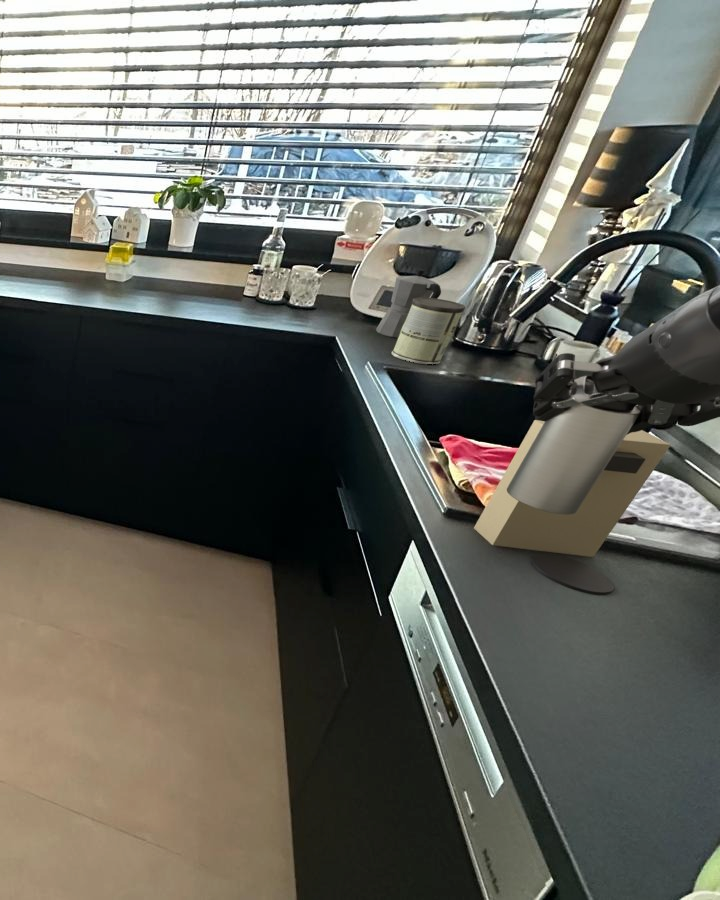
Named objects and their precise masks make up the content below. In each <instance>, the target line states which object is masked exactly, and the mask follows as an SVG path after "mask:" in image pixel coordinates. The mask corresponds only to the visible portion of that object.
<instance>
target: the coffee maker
mask: <svg viewBox="0 0 720 900" xmlns="http://www.w3.org/2000/svg"><path fill="white" fill-rule="evenodd" d="M544 423H545V421H539V420H535V419H534V420H533V422H532V424H531V425H530V427H529V429H528V431H527V433H526V434H525V436H524V438H523V439H522V441H521V443H520V445H519V447H518V449H517V450H516V452H515V454H514V456H513V457H512V459H511V461H510V463H509V464H508V467H506V470H505V471H504V473H503V476H502V477H501V478H500V480H499V482H498V483H497V486H496V488H495V490H494V491H493V493H492V495H491V496H490V497H489V500H488V501H487V504H486V506H485V507H484V509H483V511H482V512H481V514H480V516H479V518H478V520H477V521H476V523H475V525H474V527H473V529H474V530H475V531H477V533H478V534H479V535H481V536H482V537H483V539H485V540H486V541H487V542H488V543H489V544H490V545H492V546H495V547H504V548H511V549H512V548H513V549H522V550H529V551H530V550H531V551H539V553H535V554H533V555H532V557H530V564H531V566H532V567H533V568H534V569H535V570H536V571H537V572H538V573H540V574H541V575H542V576H544V577H546V578H547V579H549V580H551V581H553V582H555V583H557V584H558V585H561V586H564V587H566V588H568V589H571V590H573V591H578V592H580V593H585V594H589V595H596V596H606V595H610V594H612V593H613V592H614V590H615V584H614V582H613V581H612V580H611V579H610V578H609V577H608V576H607V575H606V574H605V573H603V572H601V571H600V570H598V569H596V568H595V567H592V566H590V565H588V564H586V563H584V562H581V561H579V560H576V559H574V558H571V557H568V556H565V555H571V556H581V557H588V558H589V557H590V558H594V557H595V555H596V554H597V553H598V551H599V550H600V548H601V547H602V545H603V544H604V542H605V541H606V539H607V538H608V537H609V535H610V534H611V533H612V531H613V529H614V528H615V527H616V525H617V523H618V522H619V521H620V519H621V518H622V516H623V515H624V514H625V512H626V511H627V509H628V508H629V507H630V505H631V503H632V502H633V501H634V499H635V498H636V496H637V495H638V493H639V492H640V491H641V489H642V487H643V486H644V485H645V483H646V482H647V480H648V479H649V477H650V476H651V474H652V473H653V471H654V470H655V468H656V467H657V466H658V465H659V463H660V462H661V460H662V458H663V457H664V456H665V454H666V453H667V451H668V450H669V448H670V447H671V445H672V444H671V443H669V442H666V441H665V440H662V439H661V438H658V437H657V436H655V435H652V434H651V433H648V432H646V431H645V430H644V429H643V430H641V431H638V432H632V433H630V434H627V435H626V436H625V438H624V439H623V441H622V442H621V444H620V445H619V447H618V449H617V450H616V452H615V453H614V455H613V456H612V458H611V459H610V461H609V462H608V464H607V466H606V467H605V469H604V470H603V472H602V473H601V475H600V476H599V478H598V479H597V481H596V483H595V484H594V486H593V487H592V489H591V490H590V492H589V493H588V495H587V496H586V498H585V500H584V501H583V503H582V504H581V506H580V507H579V509H578V510H577V512H576V513H574V514H569V515H564V514H556V513H551V512H547V511H543V510H539V509H536V508H534V507H531V506H528V505H526V504H524V503H522V502H520V501H518V500H516V499H515V498H513V497H512V496H510V495H509V494H508V492H507V487H508V485H509V484H510V482H511V480H512V478H513V477H514V475H515V473H516V472H517V470H518V468H519V466H520V465H521V463H522V461H523V459H524V458H525V456H526V454H527V452H528V451H529V449H530V447H531V445H532V444H533V442H534V440H535V438H536V437H537V435H538V433H539V431H540V430H541V428H542V426H543V424H544ZM560 554H561V555H560ZM562 554H563V555H562Z"/></svg>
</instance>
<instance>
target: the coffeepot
mask: <svg viewBox="0 0 720 900" xmlns="http://www.w3.org/2000/svg"><path fill="white" fill-rule="evenodd" d="M425 271H426V270H425V269H422V268H419V269H417V270H416V275H397V276H396V278H395V282H394V287H393V291H392V295H391V300H390V302H391V305H390V308H389V309H387V311H386V313H385V314H384V315H383V317H382V319H381V320H380V321H379V324H378V325H377V327H376V328H375V331H376V332H377V333H378V334H380V335H382V336H386V337H388V338H395V339H398V336H399V334H400V332H401V329H402V327H403V324H404V322H405V319H406V317H407V315H408V312H409V310H410V307H411V305H412V301H413V299H414V298H420V297H424V298H436V299H439V297H440V296H441V294H442V289H441V285H440V284H439V283H437V282H436V281H434V280H431V279H430V278H427V277H424V276H423V275H424V273H425Z"/></svg>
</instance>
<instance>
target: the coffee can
mask: <svg viewBox="0 0 720 900" xmlns="http://www.w3.org/2000/svg"><path fill="white" fill-rule="evenodd" d="M465 310H466V306H465V305H464V304H461V303H459V302H455V301H452V300H447V299H443V298H442V299H441V298H437V299H436V298H431V297H430V298H424V297H420V298H414V299H413V301H412V305H411V307H410V310H409V312H408V315H407V317H406V319H405V322H404V324H403V327H402V329H401V332H400V334H399V336H398V338H396V341H395V344H394V347H393V349H392V351H391V355H392V356H393V357H395V358H396V359H400V360H402V361H405V360H406V361H405V362H409V361H410V363H413V362H414V364H418V365H419V364H420V365H427V364H432V365H431V366H434V365H433V364H436V365H439V364H440V363H441V360H442V358H443V356H444V353H445V352H446V350H447V347H448V345H449V343H450V341H451V338H452V336H453V334H454V332H455V330H456V328H457V325H458V323H459V321H460V319H461V316H462V314H463V313H464V311H465Z"/></svg>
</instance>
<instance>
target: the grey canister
mask: <svg viewBox="0 0 720 900" xmlns="http://www.w3.org/2000/svg"><path fill="white" fill-rule="evenodd" d="M575 393H576V389H572V390H570V395H569V396H572V395H574V394H575ZM597 393H598V392H597V390H596V387H595V394H597ZM635 406H637V405H636V404H632V403H629V402H622V401H612V402H607V403H603V404H598V405H594V406H589V407H588V406H585V405H583V404H579V405H575V406H570V407H566V408H565V410H563V411H562V412H560V413H558V414H557V415H555V416H553V417H551V418H550V419H548V420H547V421H545V423H544V424H543V426H542V428H541V430H540V431H539V433H538V435H537V437H536V438H535V440H534V442H533V444H532V445H531V447H530V449H529V451H528V452H527V454H526V456H525V458H524V459H523V461H522V463H521V465H520V466H519V468H518V470H517V472H516V473H515V475H514V477H513V478H512V480H511V482H510V484H509V485H508V487H507V492H508V494H509V495H510V496H512V497H513V498H515V499H516V500H518V501H520V502H522V503H524V504H526V505H528V506H531V507H534V508H536V509H539V510H543V511H547V512H551V513H556V514H564V515H569V514H574V513H576V512H577V510H578V509H579V507H580V506H581V504H582V503H583V501H584V500H585V498H586V496H587V495H588V493H589V492H590V490H591V489H592V487H593V486H594V484H595V483H596V481H597V479H598V478H599V476H600V475H601V473H602V472H603V470H604V469H605V467H606V466H607V464H608V462H609V461H610V459H611V458H612V456H613V455H614V453H615V452H616V450H617V449H618V447H619V445H620V444H621V442H622V441H623V439H624V438H625V436H626V435H627V433H628V432H629V430H630V428H631V427H632V425H633V424H634V422H635V421H636V419H637V418H638V416H639V415H640V413H641V411H640V409H638V408H637V407H635Z"/></svg>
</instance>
